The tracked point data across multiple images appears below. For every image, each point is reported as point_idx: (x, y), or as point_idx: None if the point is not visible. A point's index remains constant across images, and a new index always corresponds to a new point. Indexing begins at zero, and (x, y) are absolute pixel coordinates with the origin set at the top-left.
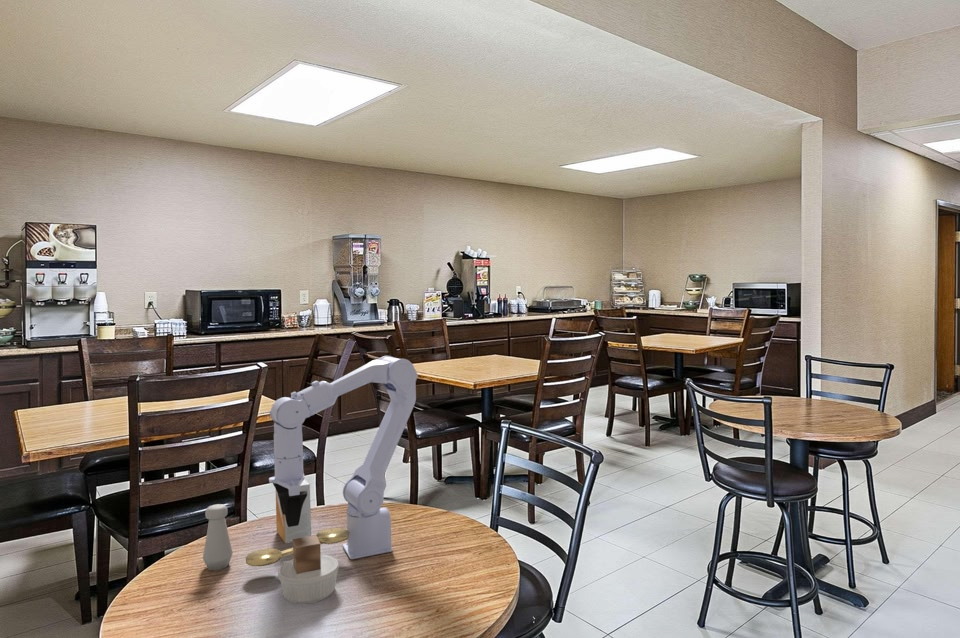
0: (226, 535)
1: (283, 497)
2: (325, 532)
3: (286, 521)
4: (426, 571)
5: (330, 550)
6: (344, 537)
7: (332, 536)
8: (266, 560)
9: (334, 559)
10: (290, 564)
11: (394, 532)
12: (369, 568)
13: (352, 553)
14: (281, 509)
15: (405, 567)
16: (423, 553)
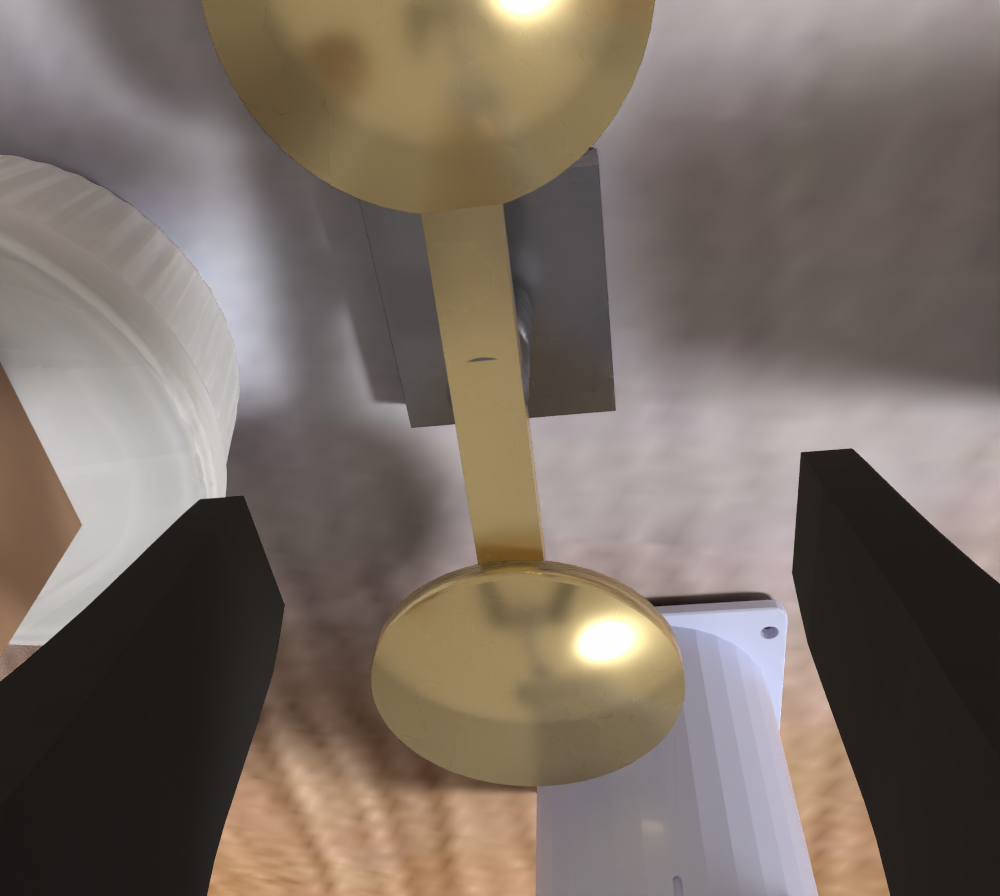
0: None
1: None
2: (599, 654)
3: (154, 544)
4: (249, 858)
5: (763, 519)
6: (417, 752)
7: (473, 688)
8: (267, 32)
9: None
10: (25, 308)
11: (844, 841)
12: (355, 678)
13: None
14: (851, 489)
15: (319, 805)
16: (471, 884)
